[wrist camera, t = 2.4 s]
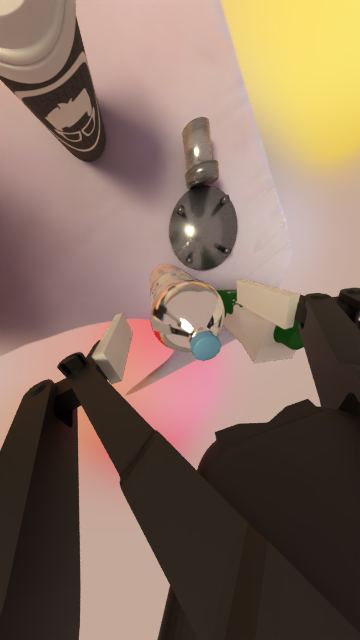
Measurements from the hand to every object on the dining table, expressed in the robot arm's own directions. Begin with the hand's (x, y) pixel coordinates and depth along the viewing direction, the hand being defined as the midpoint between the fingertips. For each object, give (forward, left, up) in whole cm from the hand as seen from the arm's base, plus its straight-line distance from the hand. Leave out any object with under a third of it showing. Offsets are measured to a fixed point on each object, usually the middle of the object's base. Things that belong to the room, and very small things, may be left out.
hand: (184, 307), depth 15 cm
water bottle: (0, 0, -18) cm, 18 cm away
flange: (+10, +10, -17) cm, 22 cm away
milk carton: (+13, -10, -18) cm, 24 cm away
